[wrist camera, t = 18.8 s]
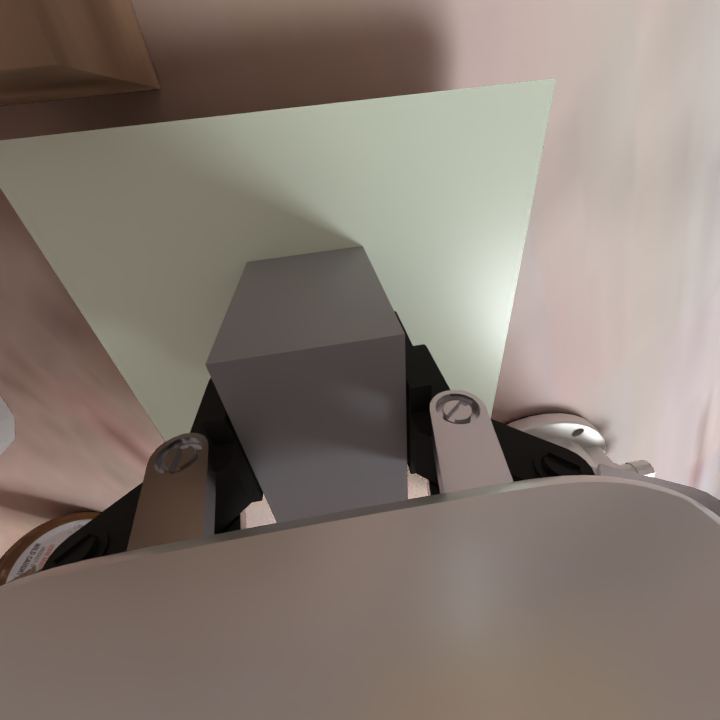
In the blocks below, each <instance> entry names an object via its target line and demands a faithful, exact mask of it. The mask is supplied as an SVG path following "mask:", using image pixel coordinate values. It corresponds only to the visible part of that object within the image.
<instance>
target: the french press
mask: <svg viewBox="0 0 720 720" xmlns="http://www.w3.org/2000/svg"><path fill="white" fill-rule="evenodd" d="M14 440H15V417H14V415H13V414H12V412H11V411H10V409H9V408H8V406H7V405H6V403H5V402H4V400H3V399H2V397H1V396H0V455H1V454H2V453H3V452H4V451H5V450H6V449H7V448H8V447H9V446H10V445H11V443H12V442H13V441H14Z"/></svg>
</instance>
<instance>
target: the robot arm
mask: <svg viewBox="0 0 720 720" xmlns="http://www.w3.org/2000/svg"><path fill="white" fill-rule="evenodd" d="M394 312H395V314H396V316H397V318H398V320H399V323H400V325H401V327H402V329H403V331H404V333H405V366H406V426H407V464H408V466H409V470H410V473H411V474H414V473H417V474H419V475H420V476H422V477H424V478H426V479H427V488H428V496H425V497H419V498H414V499H408V500H402V501H397V502H391V503H385V504H380V505H374V506H368V507H363V508H357V509H352V510H346V511H341V512H335V513H330V514H324V515H318V516H313V517H307V518H302V519H296V520H291V521H285V522H280V523H274V524H269V525H264V526H258V527H253V528H247V529H246V513H245V508H246V507H247V506H248V505H249V504H251V503H252V502H256V501H262V498H263V491H262V489H261V486H260V484H259V482H258V480H257V478H256V475H255V473H254V471H253V469H252V467H251V464H250V462H249V460H248V458H247V456H246V453H245V451H244V449H243V447H242V445H241V442H240V440H239V438H238V436H237V434H236V431H235V429H234V427H233V425H232V423H231V420H230V418H229V416H228V414H227V412H226V409H225V407H224V405H223V403H222V401H221V398H220V396H219V394H218V392H217V389H216V387H215V385H214V383H213V381H212V378H210V380H209V382H208V384H207V387H206V390H205V393H204V395H203V398H202V401H201V403H200V406H199V409H198V412H197V414H196V417H195V420H194V422H193V425H192V428H191V431H190V433H186V434H181V435H178V436H176V437H173V438H171V439H170V440H168V441H166V442H164V443H163V444H162V445H161V446H160V447H158V448H157V449H156V450H155V452H154V453H153V454H152V455H151V457H150V459H149V462H148V464H147V468H146V472H145V476H144V480H143V482H142V483H141V484H140V485H138V486H137V487H136V488H134V489H133V490H132V491H130V492H129V493H128V494H126V495H125V496H123V497H122V498H121V499H119V500H118V501H117V502H115V503H114V504H113V505H111V506H110V507H109V508H107V509H106V510H105V511H103V512H102V513H100V514H99V515H98V516H96V517H95V518H94V519H92V520H91V521H90V522H88V523H87V524H86V525H84V526H83V527H81V528H80V529H79V530H77V531H76V532H75V533H73V534H72V535H71V536H69V537H68V538H67V539H66V540H65V541H63V542H62V543H61V544H60V545H59V546H58V547H57V548H56V549H55V550H54V551H53V553H52V554H51V555H50V556H49V558H48V559H47V561H46V563H45V564H44V566H43V568H41V569H40V568H39V567H37V566H34V567H32V568H31V569H29V570H28V571H26V572H24V573H23V574H21V575H19V576H18V577H16V578H14V579H13V580H11V581H9V582H8V583H6V584H4V585H2V586H0V720H720V500H718V499H717V498H715V497H713V496H712V495H710V494H708V493H706V492H704V491H701V490H698V489H696V488H693V487H689V486H685V485H681V484H677V483H673V482H669V481H665V480H661V479H658V478H654V475H655V472H654V469H653V467H652V466H651V464H650V463H648V462H647V461H645V460H639V461H634V462H628V463H625V464H622V465H618V464H616V463H613V462H612V461H611V459H610V458H609V457H608V456H607V455H606V443H605V440H604V438H603V436H602V435H601V433H600V432H599V431H598V430H597V429H596V428H595V427H594V426H593V425H592V424H591V423H590V422H588V421H587V420H586V419H584V418H581V417H578V416H576V415H571V414H564V413H553V414H541V415H535V416H530V417H526V418H523V419H520V420H516V421H513V422H511V423H509V424H506V425H505V424H503V423H500V422H497V421H495V420H492V419H490V417H489V414H488V411H487V408H486V406H485V405H484V403H483V401H482V400H480V399H479V398H478V397H477V396H475V395H473V394H471V393H469V392H465V391H462V390H450V388H449V386H448V384H447V383H446V381H445V379H444V377H443V375H442V373H441V372H440V370H439V368H438V366H437V364H436V362H435V361H434V359H433V357H432V355H431V353H430V351H429V350H428V348H427V346H426V345H425V344H422V345H415V346H413V345H412V343H411V341H410V339H409V337H408V335H407V333H406V330H405V328H404V326H403V324H402V322H401V320H400V318H399V316H398V314H397V312H396V311H394Z"/></svg>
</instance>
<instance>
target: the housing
mask: <svg viewBox="0 0 720 720" xmlns="http://www.w3.org/2000/svg"><path fill="white" fill-rule="evenodd" d="M153 89H161V88H160V85H159V82H158V79H157V76H156V73H155V71H154V68H153V65H152V62H151V59H150V56H149V53H148V50H147V47H146V44H145V41H144V39H143V36H142V33H141V30H140V27H139V24H138V21H137V18H136V15H135V12H134V10H133V7H132V4H131V1H130V0H0V106H2V105H12V104H21V103H30V102H40V101H49V100H59V99H68V98H77V97H87V96H96V95H106V94H115V93H124V92H134V91H143V90H153Z"/></svg>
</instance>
